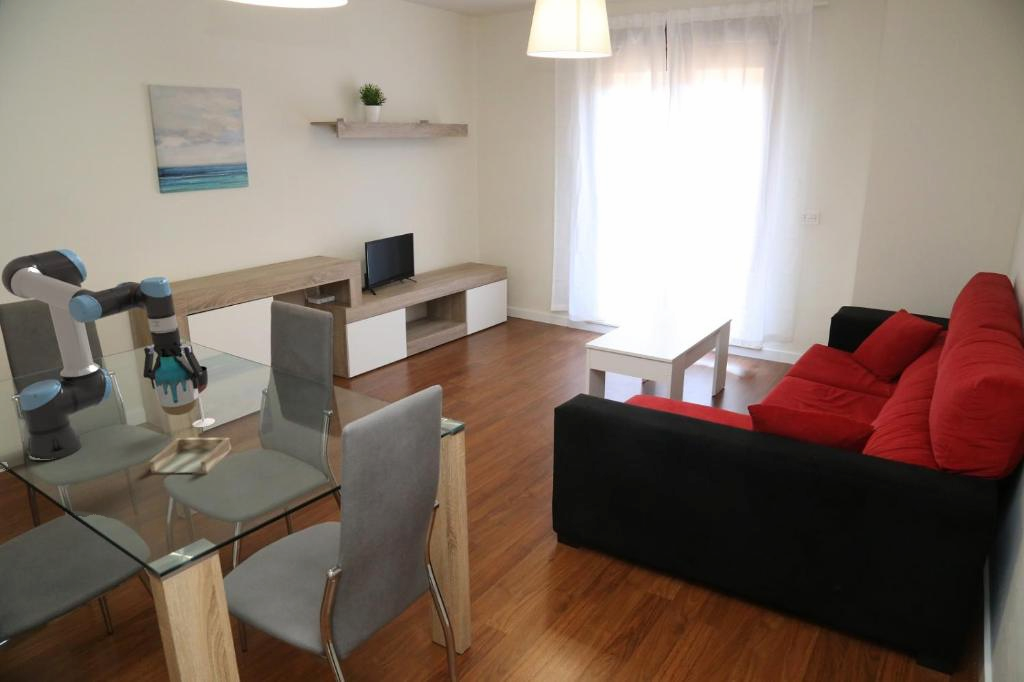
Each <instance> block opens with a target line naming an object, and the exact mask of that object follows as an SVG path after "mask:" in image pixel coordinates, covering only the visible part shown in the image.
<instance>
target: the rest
mask: <svg viewBox="0 0 1024 682" xmlns="http://www.w3.org/2000/svg"><path fill="white" fill-rule="evenodd" d="M231 449H232V444H231V441H230V437H177V438H175V439H174V440H172V441H171V443H169V444H168V445H167V446H166V447H165V448H163V449H162V450H161V451H160V452H159V453H158V454H156V455H155V456H154V457H152V459H151V460H149V461H148V464H149V468H150V472H151V473H150V474H174V473H173V472H189V473H193V474H192V475H194V474H195V475H197V474H198V475H201V474H205V475H207V474H209V473H210V472H211V471H212V470H213V469H214V468H215V467H216V466H217V465H218V464H219V463H220V462H221V461H222V460H223V459H224V457H226V456H227V455H228V453H229V452H230V451H231ZM180 470H181V471H180Z"/></svg>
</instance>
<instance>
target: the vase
mask: <svg viewBox="0 0 1024 682" xmlns="http://www.w3.org/2000/svg"><path fill="white" fill-rule="evenodd" d="M177 357H178V358H180V355H179V356H177ZM160 363H161V366H160V367H159V368H158V369H157V370H156V372H155V383H156V389H157V393H158V398H159V400H158V401H159V403H160V407H161V408H162V410H163V412H165V413H166V414H167V415H170V416H181V415H185V414H188V413H190V412H192V411H193V410H194V409H195V407H196V405H197V403H198V402H197V401H198V398H196V399H195V400H192V396H191V391H190V386H189V381H188V380H189V379H191V378H190V377H189V376H188V375H187V373H186V372H185V370H184V369H182V367H181V366H180V365H179V364H178V363H177V362H175V361H174V357H173V356H171V357H162V356H160Z"/></svg>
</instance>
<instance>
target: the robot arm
mask: <svg viewBox="0 0 1024 682" xmlns="http://www.w3.org/2000/svg"><path fill="white" fill-rule="evenodd" d="M87 277H88V272H87V268H86V266H85V263H84V261H83V260H82V259H81V257H80V256H79V255H78V254H77V253H76V252H74V251H72V250H71V249H66V248H65V249H64V248H63V249H53V250H48V251H44V252H39V253H38V252H37V253H35V254H34V253H33V254H29V255H22V256H19V257H16V258H14V259H12V260H11V261H9V262H8V263H6V265H5V266H4V267H3V269H2V272H1V283H2V285H3V287H4V288H5V289H6V291H8V293H10V294H11V295H14V296H16V297H18V298H21V299H27V300H29V299H34V300H37V301H40V302H42V303H46V304H48V307H49V312H50V316H51V321H52V324H53V327H54V329H53V330H54V332H55V336H56V340H57V344H58V348H59V351H60V356H61V361H62V364H63V369H62V370H61V371H60V373H59V375H60V380H58V379H53V378H51V379H45V380H39V381H37V382H34V383H32V384H30V385H28V386H27V387H25V388H23V389H22V390H21V392H20V394H19V402H20V408H21V411H22V414H23V418H24V420H25V423H26V424H25V425H26V427H27V431H28V443H27V444H28V445H27V456H28V455H30V456H32V457H35V458H40V459H52V458H53V459H55V458H56V459H55V460H58V459H57V458H59V459H62V458H65V457H67V456H69V455H72V454H74V453H76V452H77V451H79V450H80V449H81V448H82V446H83V441H82V439H81V437H80V436H79V435H78V434H77V432H76V430H75V429H74V428H73V425H71V421H70V418H69V416H70V415H73V414H75V413H78V412H81V411H83V410H86V409H89V408H91V407H95V406H98V405H99V404H101V403H103V402H105V401H107V400H108V399H109V398H110V396H111V394H112V390H113V386H112V380H111V378H110V376H109V374H108V372H107V370H105V369H103V368H101V366H100V365H99V364H97V363H96V362H94V358H93V355H92V351H91V347H90V343H89V338H88V334H87V333H88V332H87V329H86V324H85V323H88V322H89V323H90V322H95V321H97V320H100V319H104V318H107V317H111V316H114V315H117V314H121V313H122V314H123V313H124V312H129V311H133V310H135V309H140V310H145V312H146V317H147V323H148V326H149V331H150V336H151V341H152V344H153V346H152V345H151V344H150V345H148V346H146V347H144V350H143V351H144V354H145V355H144V356H145V358H144V366H143V375H142V377H143V378H145V379H146V378H147V379H149V380H150V383H151V387H152V389H153V390H155V395H156V398H157V401H159V398H158V393H157V389H156V383H155V372H156V370H157V369H158V368H159V367H160V366H161V363H160V356H162V357H171V356H173V357H174V361H175V362H177V363H178V364H179V365H180V366H181V367H182V369H184V370H185V372H186V373H187V375H188V376H189V377H190V378H191V379H189V380H188V381H189V386H190V391H191V396H192V400H195V399H196V398H197V399H198V397H199V393H198V388H199V381H198V377H200V376H201V375H203V374H204V373H203V371H202V369H201V367H200V366H201V365H200V363H199V361H198V360H197V357H196V355H195V354H194V352H193V345H191V344H189V345H182V344H181V336H180V335H181V334H180V330H179V328H178V326H179V325H178V320H177V315H176V311H175V305H174V300H173V294H172V293H173V292H172V288H171V286H170V281H169V279H167V278H166V277H164V276H163V277H162V276H160V277H158V276H155V277H148V278H144V279H142V280H141V281H140V282H136V281H124V282H120V283H118V284H117V285H116V286H115V287H111V288H108V289H107V288H106V289H103V290H98V291H94V290H91V289H90V290H89V289H86V288H83V287H82V283H83V282H85V281H86V280H87ZM154 353H156V354H157V356H156V358H154V355H155V354H154ZM179 355H180V358H178V357H177V356H179ZM154 359H155V363H154ZM61 457H62V458H61Z"/></svg>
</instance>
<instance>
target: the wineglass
mask: <svg viewBox="0 0 1024 682" xmlns="http://www.w3.org/2000/svg"><path fill="white" fill-rule="evenodd" d="M200 367H201V369H202V371H203V373H204V374H203V375H201V376H200V377H198V381H199V388H198V393H199V397H198V398H197V401H198V406H199V411H200V416H201V419H197V420H195V421H194V422H193V423H192V427H195V428H203V427H208V426H211V425H212V424H214V423H215V422H216V420H215V418H211V417H207V418H205V415H204V411H203V406H202V400H201V395H200V394H201V393H202V392H203V391H205V390H206V388H207V387H208V385H209V384H208V382H209V380H208V379H209V377H208V367H207V366H204V365H200Z"/></svg>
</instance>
